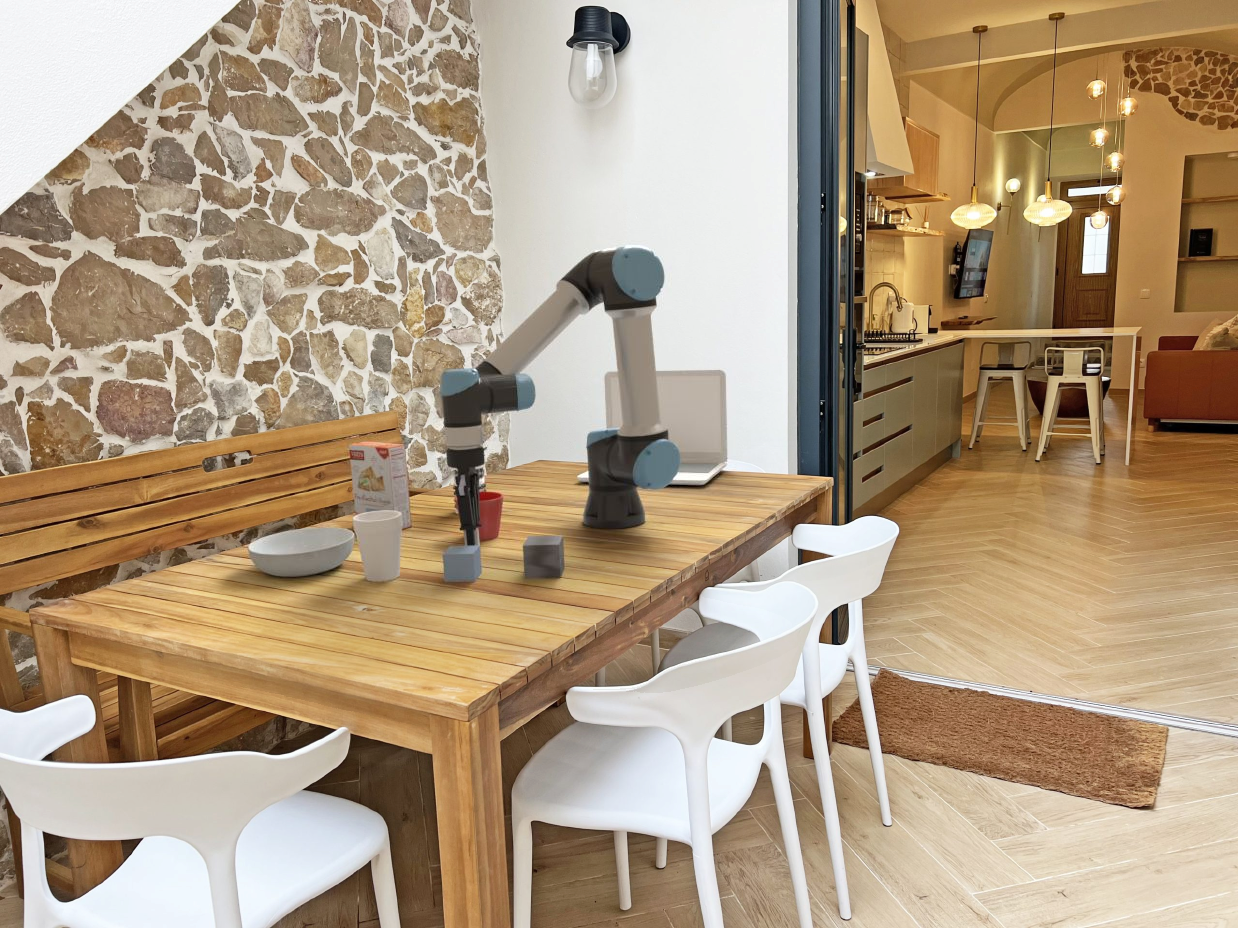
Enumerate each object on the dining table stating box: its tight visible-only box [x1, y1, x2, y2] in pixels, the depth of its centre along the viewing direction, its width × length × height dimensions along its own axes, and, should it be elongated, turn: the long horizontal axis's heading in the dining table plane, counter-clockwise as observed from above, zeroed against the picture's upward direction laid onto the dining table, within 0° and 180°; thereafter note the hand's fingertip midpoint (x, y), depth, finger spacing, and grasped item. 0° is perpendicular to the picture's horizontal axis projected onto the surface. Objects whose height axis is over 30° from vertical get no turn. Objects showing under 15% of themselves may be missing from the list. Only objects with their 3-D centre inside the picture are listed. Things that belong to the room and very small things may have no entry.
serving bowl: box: [247, 526, 356, 578], centre depth 190 cm, size 21×21×7 cm
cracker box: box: [348, 440, 413, 531], centre depth 225 cm, size 14×6×21 cm, turn 57°
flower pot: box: [454, 491, 504, 542], centre depth 212 cm, size 11×11×10 cm
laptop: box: [576, 369, 728, 486], centre depth 279 cm, size 40×31×31 cm
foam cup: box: [352, 510, 403, 583], centre depth 181 cm, size 10×9×13 cm
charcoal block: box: [522, 535, 566, 580], centre depth 181 cm, size 7×7×7 cm
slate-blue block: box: [442, 545, 483, 583], centre depth 180 cm, size 6×6×6 cm
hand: (473, 559), depth 188 cm, fingers closed
